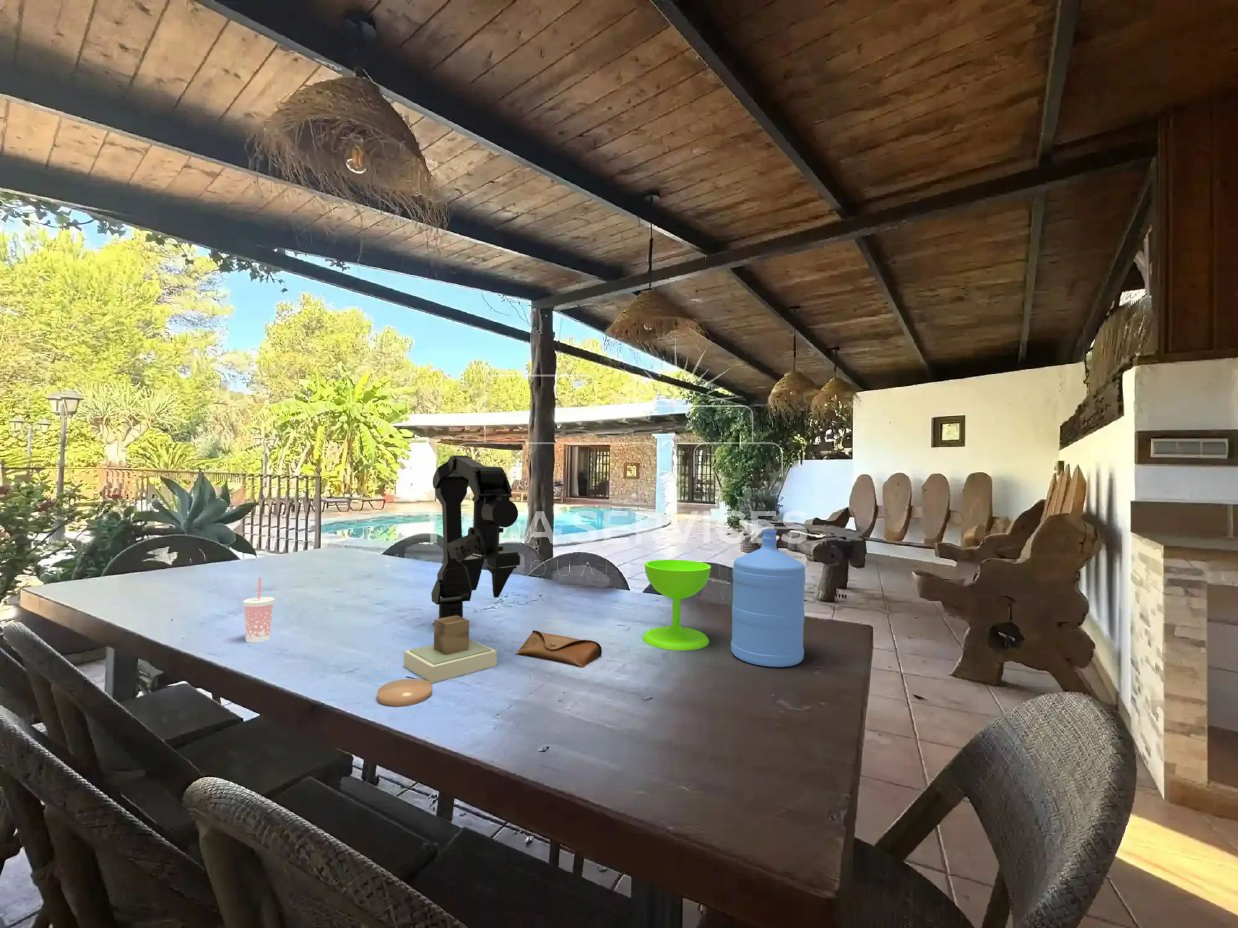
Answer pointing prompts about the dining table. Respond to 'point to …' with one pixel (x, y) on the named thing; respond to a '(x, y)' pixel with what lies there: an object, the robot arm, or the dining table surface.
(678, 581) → the wineglass
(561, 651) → the sunglasses case
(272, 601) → the beverage cup
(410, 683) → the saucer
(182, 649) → the dining table surface
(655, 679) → the dining table surface
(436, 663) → the base
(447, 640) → the block
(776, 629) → the water jug
